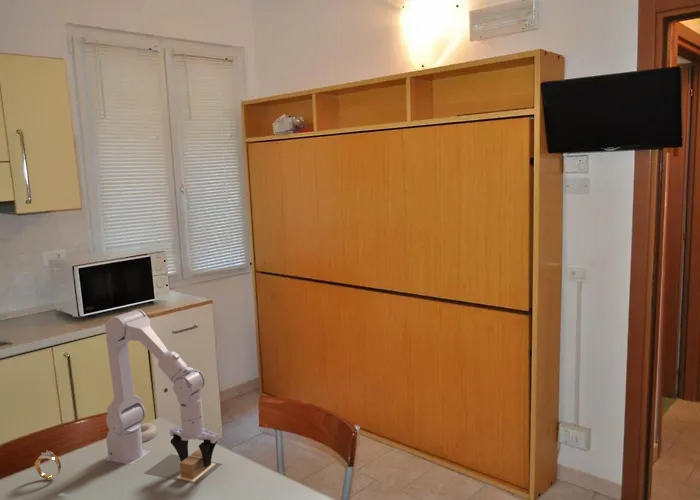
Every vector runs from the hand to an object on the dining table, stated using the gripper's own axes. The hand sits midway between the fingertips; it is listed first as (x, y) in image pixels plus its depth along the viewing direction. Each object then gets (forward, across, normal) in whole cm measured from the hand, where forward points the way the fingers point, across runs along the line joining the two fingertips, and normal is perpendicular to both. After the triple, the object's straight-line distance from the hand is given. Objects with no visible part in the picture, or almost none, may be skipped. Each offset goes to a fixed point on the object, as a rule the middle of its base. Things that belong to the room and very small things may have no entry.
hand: (195, 463), depth 156 cm
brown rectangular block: (+2, 0, 0) cm, 2 cm away
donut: (+3, -31, +12) cm, 33 cm away
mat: (+3, -4, 0) cm, 5 cm away
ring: (+3, -37, -16) cm, 41 cm away
